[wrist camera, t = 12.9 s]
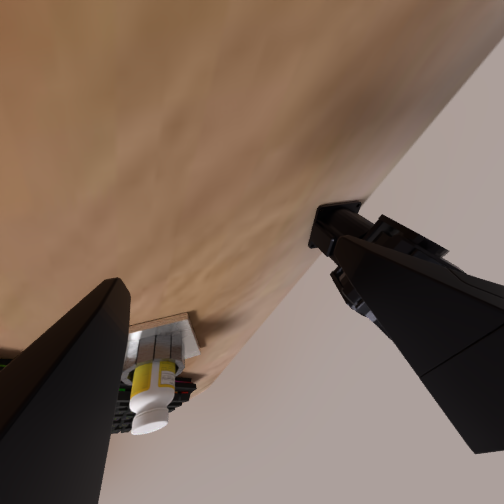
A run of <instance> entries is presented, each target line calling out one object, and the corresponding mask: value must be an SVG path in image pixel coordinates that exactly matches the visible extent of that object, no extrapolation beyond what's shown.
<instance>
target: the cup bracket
mask: <svg viewBox="0 0 504 504" xmlns="http://www.w3.org/2000/svg"><path fill="white" fill-rule="evenodd" d="M200 354H201V352H200V346H199V343H198V341H197V338H196V335H195V332H194V330H193V327H192V324H191V321H190V319H189V316H188V313H183V314H179V315H175V316H170V317H166V318H162V319H158V320H154V321H149V322H145V323H141V324H137V325H133V326H129V336H128V343H127V349H126V354H125V360H124V365H123V371H122V376H121V381H122V382H124V383H125V384H127V385H132V384H133V378H134V372H135V368H137V367H139V366H141V365H144V364H148V363H151V362H160V361H169V362H173V363H175V377H176V376H178V375H179V374H181V372H182V371H183V369H184V368H185V359H187V358H190V357H194V356H197V355H200Z"/></svg>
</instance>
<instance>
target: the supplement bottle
mask: <svg viewBox="0 0 504 504" xmlns="http://www.w3.org/2000/svg"><path fill="white" fill-rule="evenodd" d="M174 392H175V363H173V362H169V361H160V362H151V363H148V364H144V365H141V366H139V367H137V368H135V372H134V378H133V384H132V391H131V397H130V404H129V406H130V409H131V411H132V412H134V413H136V416H135V417H134V419H133V422H132V431H131V433H132V434H133V435H141V434H146V433H150V432H153V431H156V430H159V429H161V428H163V427H164V426H166V425H167V423H168V413H169V412H168V408H167V405H168V404H170V403H171V401H172V400H173V398H174Z"/></svg>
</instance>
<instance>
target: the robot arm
mask: <svg viewBox="0 0 504 504" xmlns="http://www.w3.org/2000/svg"><path fill="white" fill-rule="evenodd" d="M360 207H361V202H359V201H353V202H345V203H338V204H330V205H322V206H319V207H318V208H317V211H316V215H315V219H314V223H313V227H312V231H311V235H310V239H309V243H308V247H309V248H311V249H312V248H319V249H320V250H321V251H322V252H323V253H324V254H325V255H326V256H327V257H330V258H331V259H332V260H333V261H334V262H335V263H336V264H337V265H338V267H337V268H336V269H335V270H334V271H332V272H331V274H330V276H331V277H332V279H333V281H334V283H335V285H336V287H337V288H338V290H339V292H340V294H341V295H342V297H343V299H344V300H345V302H346V304H347V305H349V306H350V308H351V309H353V310H355V311H356V312H358V313H359V314H361V315H363V316H365V317H367V318H369V319H370V320H371V321H372V322H373V323H374V324H376V325H377V326H378V327H379V328H380V329H381V330H382V331H383V332H384V333H385V334H386V335H387V336H388V338H390V339H391V340H392V341H393V342H394V344H395V345H396V346H397V348H398V349H399V350H400V351H401V353H402V355H403V356H404V357H405V359H406V360H407V361H408V363H409V364H410V366H411V367H412V368H413V370H414V371H415V373H416V374H417V375H418V376H419V378H420V380H421V381H422V383H423V384H424V385H425V387H426V388H427V389H428V391H429V392H430V394H431V395H432V397H434V399H435V401H436V402H437V403H438V405H439V406H440V407H441V409H442V410H443V412H444V413H445V415H446V416H447V417H448V419H449V420H450V421H451V423H452V424H453V425H454V427H455V428H456V430H457V431H458V432H459V434H460V435H461V437H462V438H463V439H464V441H465V442H466V444H467V445H468V446H469V448H470V449H471V450H472V451H473V452H474V453H475V454H481V453H488V452H496V451H503V450H504V286H503V285H500V284H496V283H493V282H490V281H486V280H483V279H480V278H477V277H473V276H470V275H467V274H466V273H464V271H463V270H461V269H460V268H459V267H457V266H455V265H454V264H452V263H450V262H449V261H447V260H445V259H443V258H442V257H443V256H445V255H446V254H447V253H448V252H449V251H448V250H447V249H445V248H443V247H441V246H440V245H438V244H436V243H434V242H432V241H431V240H429V239H427V238H425V237H423V236H422V235H420V234H418V233H416V232H414V231H412V230H410V229H409V228H407V227H405V226H403V225H401V224H399V223H397V222H396V221H394V220H392V219H390V218H388V217H386V216H385V215H383V214H382V215H381V216H380V217H379V220H378V221H377V222H376V223H375V224H373V223H371V222H370V221H368V220H367V219H365V218H364V217H362V216H360V215H359V214H358V212H359V209H360ZM321 209H322V210H321ZM320 210H321V211H320ZM130 302H131V296H130V292H129V291H128V289H127V287H126V286H125V284H124V283H123V281H122V280H121V279H120V278H118V277H116V278H111V279H106V280H104V281H103V282H102V283H100V284H99V285H98V286H97V287H96V288H95V289H94V290H92V291H91V292H90V293H89V294H88V295H87V296H86V297H84V298H83V299H82V300H81V301H80V302H79V303H78V304H76V305H75V306H74V307H73V308H72V309H71V310H70V311H68V312H67V313H66V314H65V315H64V316H63V317H62V318H61V319H59V320H58V321H57V322H56V323H55V324H54V325H53V326H51V327H50V328H49V329H48V330H47V331H46V332H45V333H43V334H42V335H41V336H40V337H39V338H38V339H37V340H35V341H34V342H33V343H32V344H31V345H30V346H29V347H27V348H26V349H25V350H24V351H23V352H22V353H21V354H19V355H18V356H17V357H16V358H15V359H14V360H13V361H11V362H10V363H9V364H8V365H7V366H6V367H5V368H3V369H2V370H1V371H0V504H98V500H99V495H100V490H101V484H102V478H103V474H104V468H105V463H106V457H107V452H108V446H109V441H110V436H111V430H112V425H113V419H114V414H115V409H116V403H117V398H118V392H119V387H120V381H121V376H122V371H123V365H124V360H125V354H126V349H127V343H128V336H129V320H130Z"/></svg>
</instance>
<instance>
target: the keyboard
mask: <svg viewBox="0 0 504 504" xmlns="http://www.w3.org/2000/svg"><path fill="white" fill-rule="evenodd" d="M11 361H13V360H8V359H0V371H1V370H2V369H3V368H5V367H6V366H7V365H8V364H9V363H10V362H11ZM196 389H197V388H196V384H193V383H192V382H191V379H189V378H180V377H175V392H174V398H173V400H172V401H171V403H170V404H168V405H167V408H168V412H172V411H173V410H175V407H179V406H181V405H182V402H187V401H189V398H190V393H192V392H193V391H194V390H196ZM131 391H132V385H127V384H125V383H124V382H122V381H120V387H119V392H118V398H117V403H116V409H115V414H114V419H113V425H112V430H111V434H113V433H119V432H120V431H121V433H124V432H129V431H130V430H131V429H132V422H133V419H134V417H135V416H136V413H134V412H132V411H131V409H130V406H129V404H130V397H131Z"/></svg>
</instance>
